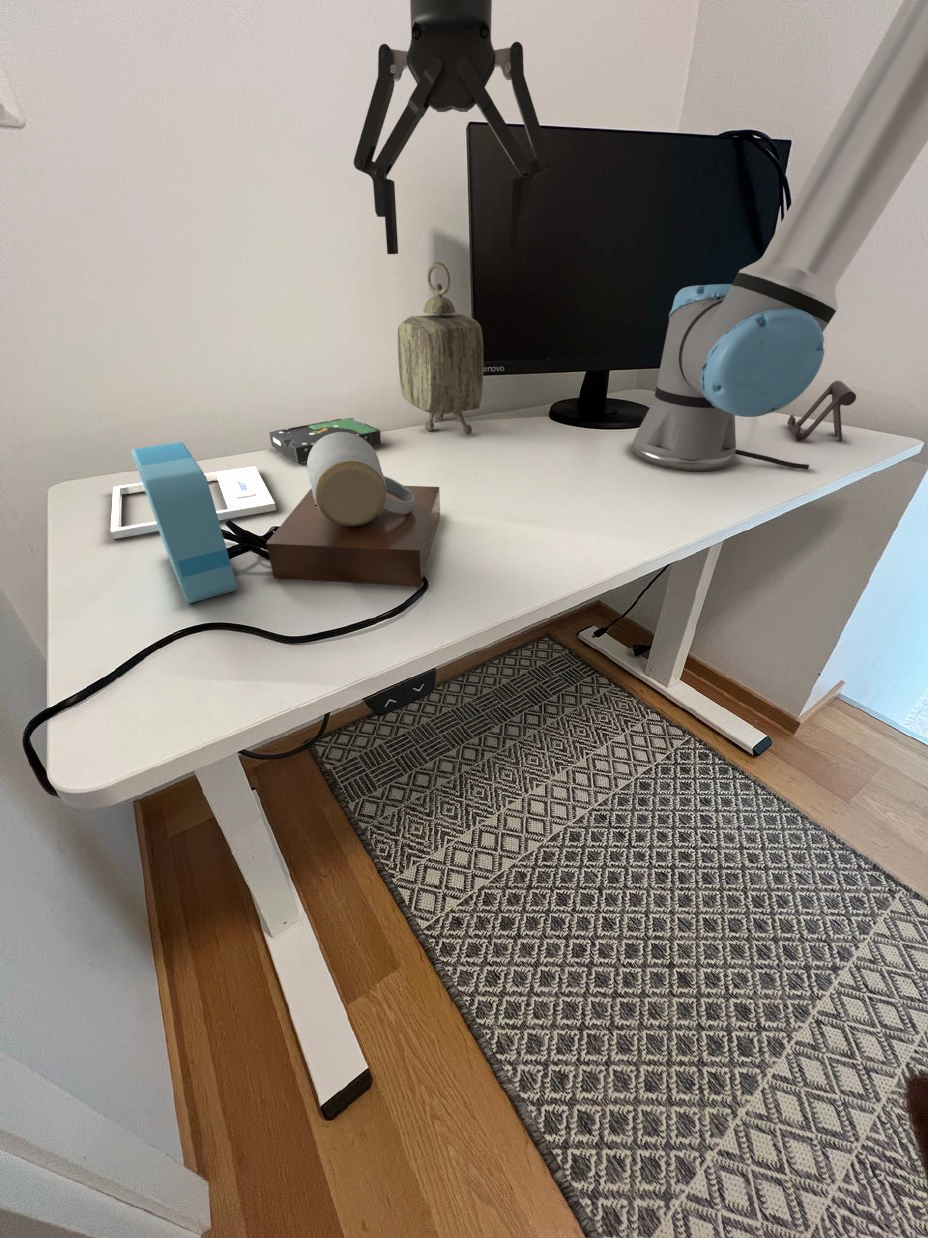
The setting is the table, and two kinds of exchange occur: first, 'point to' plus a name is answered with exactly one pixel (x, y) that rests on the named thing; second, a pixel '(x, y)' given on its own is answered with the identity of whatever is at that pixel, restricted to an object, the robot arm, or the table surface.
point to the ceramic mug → (352, 481)
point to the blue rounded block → (186, 520)
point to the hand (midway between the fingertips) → (452, 254)
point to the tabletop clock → (441, 358)
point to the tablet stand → (839, 397)
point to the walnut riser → (357, 544)
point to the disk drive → (319, 436)
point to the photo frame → (241, 498)
